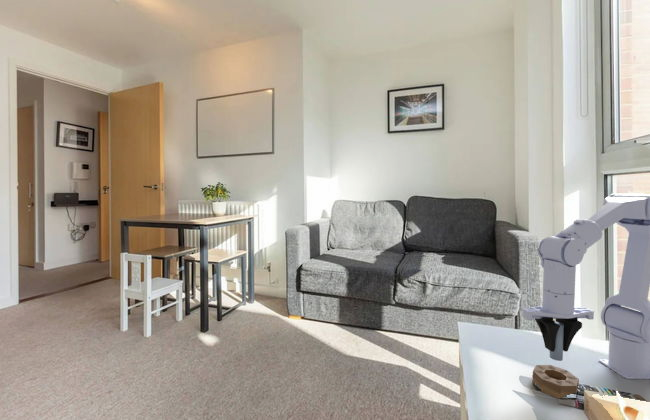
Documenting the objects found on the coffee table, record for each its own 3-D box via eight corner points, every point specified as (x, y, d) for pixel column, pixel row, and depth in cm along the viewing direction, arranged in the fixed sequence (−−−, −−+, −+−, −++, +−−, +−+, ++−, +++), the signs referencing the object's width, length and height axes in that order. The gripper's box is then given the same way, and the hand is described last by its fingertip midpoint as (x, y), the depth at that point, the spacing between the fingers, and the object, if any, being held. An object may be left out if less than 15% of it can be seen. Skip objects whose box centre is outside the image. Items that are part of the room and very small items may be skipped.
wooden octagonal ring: (559, 376, 76) (560, 364, 75) (586, 399, 68) (587, 385, 67) (526, 377, 76) (526, 365, 76) (549, 399, 68) (549, 385, 68)
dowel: (557, 355, 72) (558, 321, 72) (565, 360, 70) (566, 325, 69) (547, 355, 72) (548, 321, 72) (554, 360, 70) (555, 325, 69)
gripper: (577, 284, 74) (574, 340, 75) (515, 285, 74) (513, 340, 75) (603, 294, 67) (600, 356, 68) (534, 295, 67) (532, 356, 68)
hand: (556, 349), depth 71 cm, fingers closed on dowel, 2 cm apart
